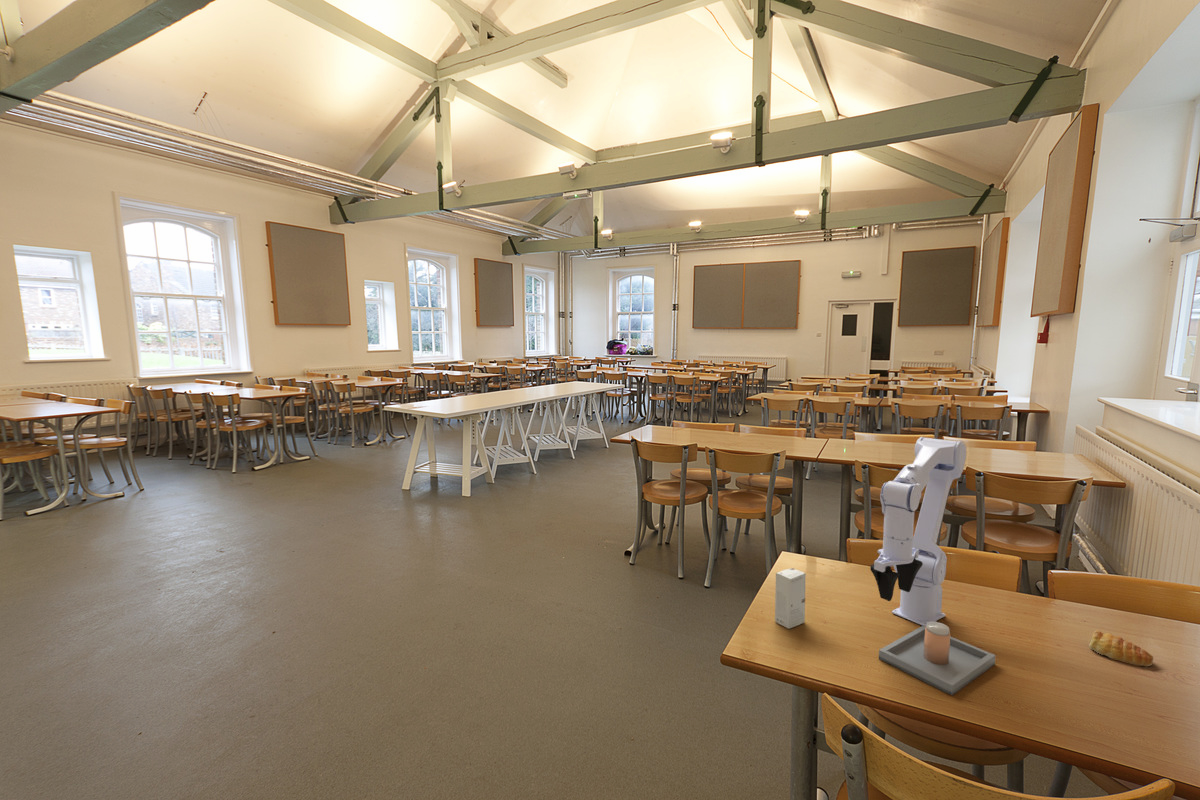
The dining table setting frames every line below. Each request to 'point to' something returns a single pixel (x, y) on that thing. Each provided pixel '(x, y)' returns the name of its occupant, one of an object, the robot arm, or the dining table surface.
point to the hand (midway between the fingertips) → (895, 594)
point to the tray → (949, 677)
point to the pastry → (1119, 649)
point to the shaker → (937, 643)
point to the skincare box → (790, 598)
